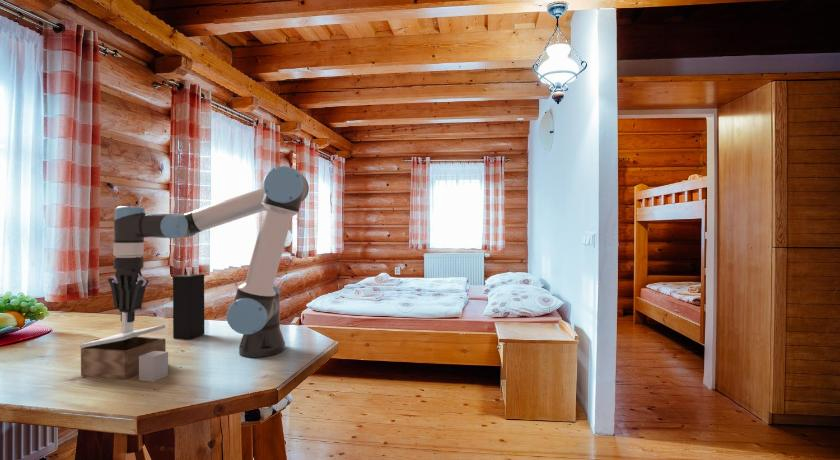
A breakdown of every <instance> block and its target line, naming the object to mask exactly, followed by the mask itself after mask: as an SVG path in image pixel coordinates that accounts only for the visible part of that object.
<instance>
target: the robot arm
mask: <svg viewBox="0 0 840 460" xmlns="http://www.w3.org/2000/svg"><path fill="white" fill-rule="evenodd" d="M262 185H263V188H259V189H255V190H253V191H250V192H247V193H244V194H240V195H237V196H235V197H231V198H228V199H226V200H222V201H219V202H216V203H213V204H210V205H207V206H204V207H201V208H198V209H195V210H192V211H189V212H185V213H183V214H177V213H146V211H145V208H144V207H142V206H126V205H125V206H122V205H120V206H117V207H115V209H114V218H113V229H114V231H113V232H114V233H113V234H114V235H113V238H114V239H113V249H112V250H113V254H112V255H113V256H115V257H114V258H113V261H112V262H113V263H112V265H113V267H112V268H113V270H115V273H114V276H113V277H109V278H108V283H109V285H110V290H111V295H112V302H113V305H114V309H115V310H118V311H119V312H120V322H121V328H120V329H121V333H123V334H126V333H129V332H133V331H134V322H135V320H136V319H135V317H136V314H135V313H136V311H138V310H141V308H142V305H143V301H144V296H145V293H146V288H147V286H148V283H149V279H148V278H147V279H145V278H144V277H142V276H143V273H142V272H141V271H142V269H143V268H144V264H145V263H144V261H145V260H144V257H143V255H144V252H145V251H144V248H145V246H144V245H145V238H154V239H155V238H156V239H161V238H162V239H170V240H171V239H182V238H189V237H193V236H195V235H197V234H198V233H200V232H203V231H207V230H209V229H211V228H215V227H219V226H222V225H224V224H227V223H230V222H233V221H237V220H240V219H242V218H245V217H249V216H251V215H254V214H257V213H261V212H263V211H264V212H263V215H262V218H261V222H260V226H259V229H258V234H257V237H256V240H255V244H254V248H253V252H252V256H251V258H250V262H249V267H248V270H247V272H246V273H247V274H246V276H245V281H244V282H243V283H241V284H240V285H238V287H237V289H236V293H235V297H234V300H233V302H232V303H231V304H230V305H229V307H228V309H227V311H226V321H227V323H228V325H229V327H230V328H231V329H232V330H233V331H234V332H236V333H237V334H241V335H242V338H241V341H240V344H239V348H238V353H239V355H240V356H241V357H245V358H262V357H270V356H274V355H277V354H280V353H282V352H283V351H284V350H285V349H286V343H285V340H284V336H283V334H282V333H283V332H282V330H281V327H280V326H281V323H280V321H281V320H280V317H281V313H280V312H281V309H280V308H281V305H280V302H281V301H280V300H281V299H280V297H281V293H280V291H281V290H280V288H279V287H278V286H276V285H274V284H275V280H276V276H277V273H278V269H279V266H280V263H281V259H282V255H283V252H284V247H285V243H286V241H287V237H288V232H289V229H290V226H291V222H292V219H293V217H294V216H296V215H298V214H299V211H300V208H301V206H302V205H301V204H302V202H303V201H305V200H306V199H307V196H308V195H309V191H310V186H309V182H308V180H307V179H306V177H305V176H304V175H303V174H301V173H300V172H299V171H298V169H295V168H293V167H291V166H286V165H285V166H284V165H282V166H281V165H280V166H279V165H278V166H275V167H273V168H272V169H270V170H269V171H268V172H267V174H266V175H265V176H264V178H263V182H262Z"/></svg>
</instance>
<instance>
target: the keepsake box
mask: <svg viewBox="0 0 840 460" xmlns="http://www.w3.org/2000/svg"><path fill="white" fill-rule="evenodd" d="M152 351H164V352H167V350H166V338H165V337H164V338H163V337H149V336H136V337H132V338H129V339H126V340H122V341H116V342H111V343H105V344H100V345H94V346H89V347H83V348H80V376H88V377H96V378H97V377H99V378H108V379H116V380H117V379H118V380H127V379H129V378H132V377H134V376H137V375H139V356H140V355H143V354H146V353H149V352H152Z"/></svg>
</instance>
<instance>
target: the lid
mask: <svg viewBox="0 0 840 460" xmlns="http://www.w3.org/2000/svg"><path fill="white" fill-rule="evenodd" d="M162 329H166V325H165V324H162V325H155V326H152V327H146V328H140V329H133V332H129V333H126V334H123V333H117V334H114V335H109V336H105V337H103V338H100V339H95V340H92V341H88V342H84V343H81V344H79V348H80V349H81V348H83V347H89V346H94V345H100V344H105V343H111V342H116V341H122V340H126V339H129V338H132V337H136V336H138V337H140V336H141V335H145V334H150V333H152V332H156V331H159V330H162Z"/></svg>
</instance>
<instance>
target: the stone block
mask: <svg viewBox="0 0 840 460" xmlns="http://www.w3.org/2000/svg"><path fill="white" fill-rule="evenodd" d="M168 376H169V351H166V352H164V351H152V352H149V353H146V354H143V355H140V356H139V374H138V380H139V381H143V382H144V381H145V382H151V383H153V382H156V381H158V380H160V379H163V378H165V377H168Z"/></svg>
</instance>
